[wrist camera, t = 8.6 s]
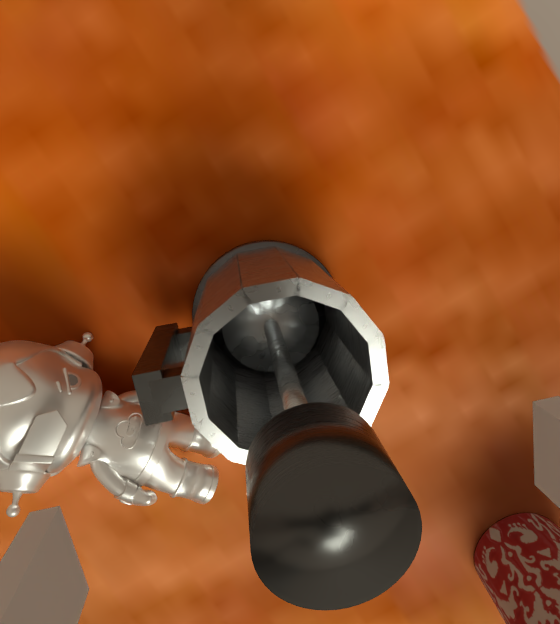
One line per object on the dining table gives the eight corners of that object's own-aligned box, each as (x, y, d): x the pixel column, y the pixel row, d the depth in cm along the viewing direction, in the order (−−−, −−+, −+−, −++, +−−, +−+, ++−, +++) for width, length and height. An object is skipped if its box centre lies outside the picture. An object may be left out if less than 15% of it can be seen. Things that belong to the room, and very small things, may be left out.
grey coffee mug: (183, 398, 30) (161, 505, 20) (148, 260, 28) (103, 305, 18) (346, 365, 31) (404, 452, 21) (327, 227, 28) (383, 252, 18)
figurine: (213, 557, 24) (-123, 486, 18) (163, 551, 30) (-106, 494, 24) (252, 373, 30) (3, 270, 23) (203, 397, 35) (-8, 319, 29)
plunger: (232, 375, 28) (240, 658, 11) (213, 286, 26) (189, 461, 10) (323, 357, 28) (461, 606, 12) (309, 268, 27) (446, 407, 10)
